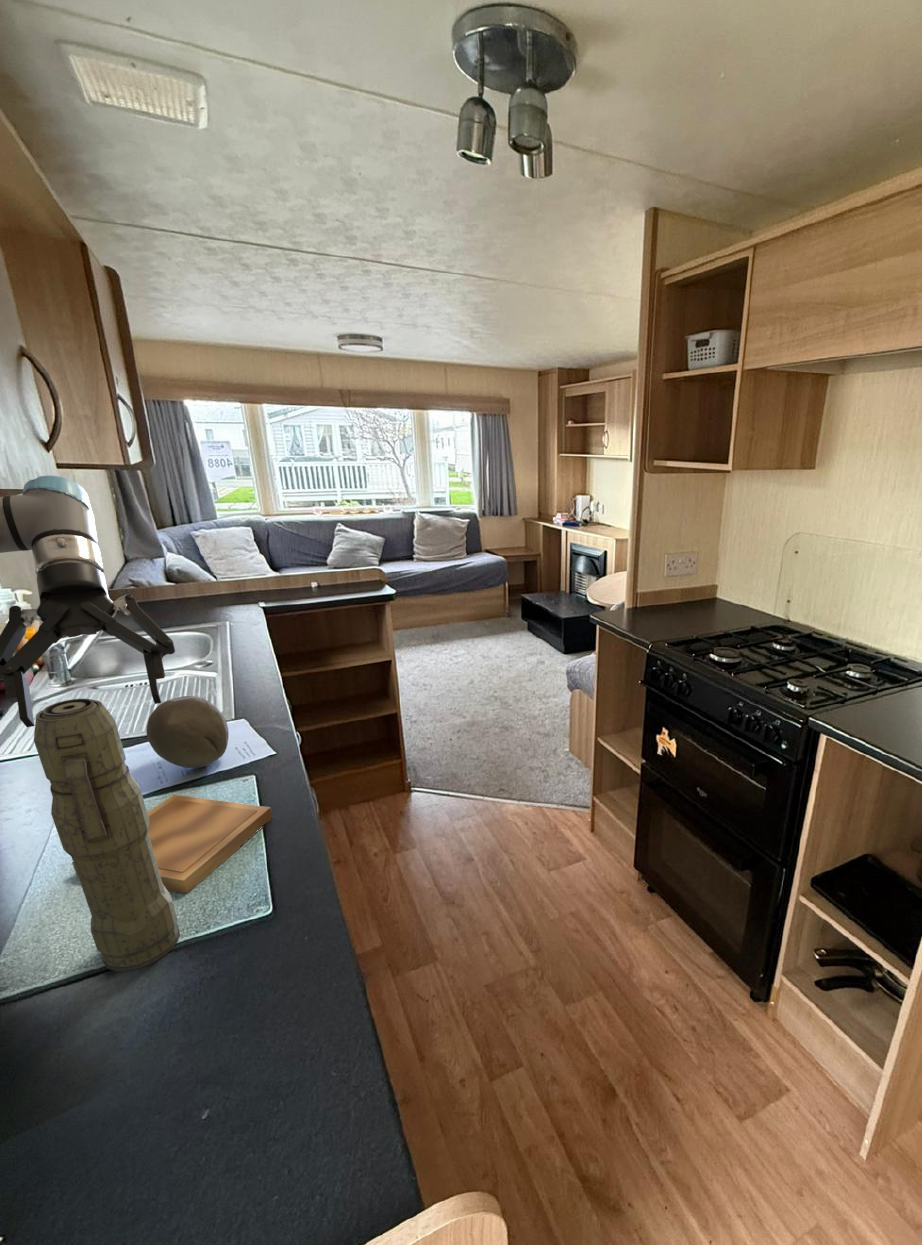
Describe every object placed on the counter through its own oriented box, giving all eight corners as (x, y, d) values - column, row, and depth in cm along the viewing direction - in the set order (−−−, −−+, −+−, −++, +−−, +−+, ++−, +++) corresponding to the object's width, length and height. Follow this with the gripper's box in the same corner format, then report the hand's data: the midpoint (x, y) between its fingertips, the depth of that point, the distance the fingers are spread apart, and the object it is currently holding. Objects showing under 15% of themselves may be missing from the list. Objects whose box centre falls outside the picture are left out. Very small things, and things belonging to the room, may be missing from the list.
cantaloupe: (234, 744, 137) (221, 682, 131) (234, 773, 125) (219, 705, 119) (160, 757, 131) (143, 693, 125) (152, 789, 119) (133, 719, 113)
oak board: (76, 875, 95) (71, 861, 94) (176, 806, 113) (173, 794, 112) (187, 893, 91) (183, 879, 90) (272, 819, 110) (270, 806, 109)
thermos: (104, 992, 75) (14, 735, 62) (100, 934, 84) (20, 699, 71) (187, 958, 80) (119, 714, 67) (175, 907, 89) (112, 683, 76)
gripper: (-62, 568, 76) (-48, 721, 70) (171, 551, 89) (202, 679, 83) (-38, 601, 82) (-22, 744, 76) (177, 581, 95) (206, 702, 89)
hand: (94, 710), depth 79 cm, fingers open, 13 cm apart
